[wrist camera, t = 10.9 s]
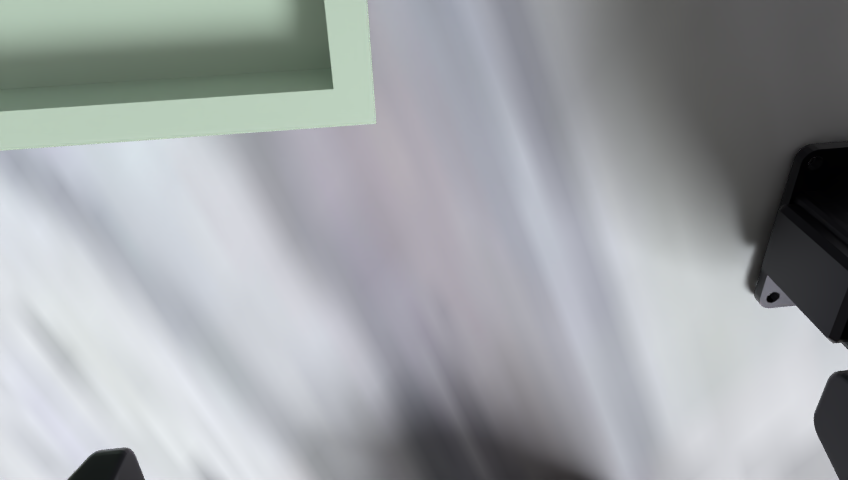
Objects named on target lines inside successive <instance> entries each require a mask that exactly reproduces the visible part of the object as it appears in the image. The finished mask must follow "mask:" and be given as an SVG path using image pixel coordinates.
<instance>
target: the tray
mask: <svg viewBox="0 0 848 480" xmlns="http://www.w3.org/2000/svg"><path fill="white" fill-rule="evenodd" d="M365 124H376V114H375V100H374V87H373V73H372V59H371V46H370V32H369V18H368V5H367V0H0V151H2V150H16V149H30V148H44V147H58V146H72V145H86V144H100V143H114V142H128V141H142V140H156V139H170V138H184V137H197V136H211V135H225V134H239V133H253V132H267V131H281V130H295V129H309V128H323V127H337V126H351V125H365Z"/></svg>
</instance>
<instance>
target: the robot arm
mask: <svg viewBox="0 0 848 480" xmlns="http://www.w3.org/2000/svg"><path fill="white" fill-rule="evenodd" d="M813 157H815V159H814V161H813V162H812V163H810V164H808V163H809V161H810V160H811V159H812V158H813ZM770 293H772V294H770ZM769 294H770V295H769ZM768 295H769V296H768ZM754 297H755V298H756V300H757V301H758V302H759V303H760V304H761V306H763V307H765V308H775V307H785V306H795V305H796V306H797V307H798V308H799V309H800V310H801V311H802V312H803V313H804V314H805V315H806V316H807V317H808V318H809V319H810V321H811V322H812V323H813V324H814V325H815V326H816V327H817V328H818V329H819V330H820V331H821V332H822V333H823V334H824V335H825V336H826V337H827V338H828V339H829V340H830V341H831V342H832V343H842V344H843V345H844V346H845V347H846V348H847V349H848V141H847V142H834V143H821V144H811V145H807V146H805V147H804V148H802V149H801V150H800V151H799V152H798V153H797V154H796V156H795V158H794V160H793V163H792V167H791V170H790V174H789V177H788V180H787V184H786V187H785V191H784V194H783V197H782V201H781V204H780V208H779V211H778V213H777V216H776V220H775V223H774V226H773V230H772V233H771V237H770V240H769V243H768V247H767V250H766V254H765V257H764V260H763V264H762V269H761V272H760V275H759V279H758V282H757V285H756V289H755V292H754ZM814 426H815V430H816V433H817V435H818V437H819V439H820V441H821V443H822V445H823V447H824V449H825V451H826V453H827V455H828V457H829V459H830V461H831V464H832V466H833V468H834V470H835V472H836V474H837V476H838V478H839V480H848V370H845V371H837V372H834V373H833V374H832V375H831V376H830V377H829V379H828V381H827V383H826V386H825V388H824V391H823V393H822V396H821V398H820V401H819V403H818V406H817V408H816V410H815V413H814ZM67 480H145V479H144V476H143V474H142V471H141V469H140V466H139V463H138V461H137V458H136V456H135V454H134V452H133V451H132V450H131V449H129V448H115V449H106V450H99V451H96V452H94V453H93V454H92V455H90V456H89V457H88V458H87V459H86V460H85V461H84V462H83V463H82V464H81V466H80V467H79V468H78V469H77V470H76V471H75V472H74V473H73V474H72V475H71V476H70V477H69V478H68V479H67Z"/></svg>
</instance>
